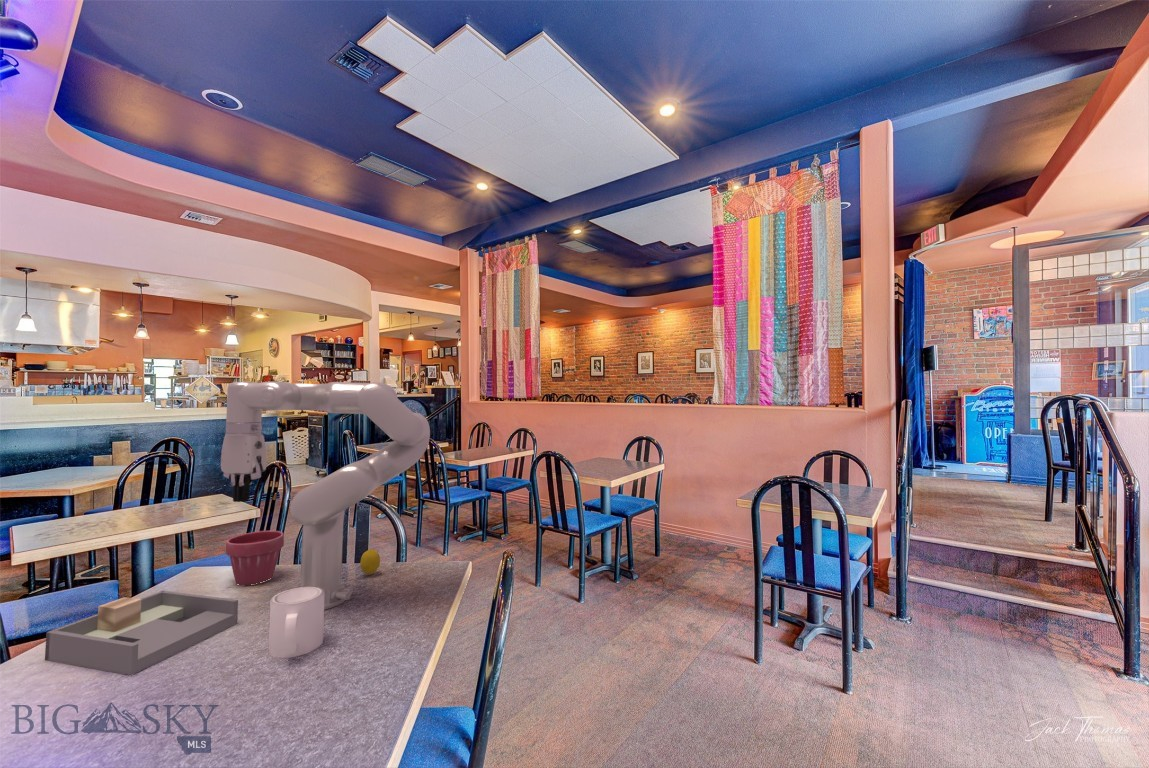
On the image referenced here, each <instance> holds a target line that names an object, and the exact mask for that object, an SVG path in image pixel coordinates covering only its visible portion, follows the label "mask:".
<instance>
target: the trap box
mask: <svg viewBox="0 0 1149 768" xmlns="http://www.w3.org/2000/svg"><path fill="white" fill-rule="evenodd" d="M140 599H141V619H140V622H139V623H136V624H134V625H131V626H129V627H126V628H124V629H121V630H119V631H116V632H110V631H104V630H97V624H98V613H97V614H93V615H91V616H88V617H84V618H82V619H80V620H77V621H74V622H71V623H68V624H66V625H62V626H60V627H57V628H54V629H51V630H49V631H47V632H46V634H45V635H46V636H45V648H44V649H45V651H44V661H48V662H55V663H60V664H66V665H71V666H76V667H82V668H88V669H92V670H99V671H103V672H109V673H115V674H120V673H121V674H120V675H125V674H128V675H127V676H133V675H135V674H138V673H139V672H141V670H142V671H144V670H145V668H146V669H147V668H149V667H152V666H153V665H156V664H157V663H160V662H162V661H164V660H167V659H168V658H169V657H172V656H174V655H176V654H178V653H180V652H182V651H184V650H186V649H188V648H190V647H192V646H195V645H197V644H198V643H202V641H204V640H207V639H208V638H210V637H213V636H215V635H217V634H219V633H221V632H223V631H225V630H227V629H229V628H232V627H234V626H235V625H238V614H239V613H238V612H239V610H238V609H239V600H238V599H234V598H226V597H217V596H210V595H209V596H208V595H202V594H193V593H185V592H179V591H170V590H161V591H158V592H155V593H153V594H149V595H147V596H144V597H141V598H140ZM143 669H144V670H143ZM132 674H133V675H132Z"/></svg>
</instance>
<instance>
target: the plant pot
mask: <svg viewBox="0 0 1149 768" xmlns="http://www.w3.org/2000/svg"><path fill="white" fill-rule="evenodd" d="M225 543H226V544H225V555H226V556H228V557H229V560H230V564H231V569H232V573H233V577H234V581H235V584H236V585H237V584H239V585H251V584H256V583H260V582H263V581H266V580H268V579H270V578H272V577H274V574H275V569H276V567H277V563H278V559H279V555H280V552H281V549H282V548H283V547H284V543H285V537H284V532H282V531H279V530H259V531H252V532H248V533H247V532H246V533H242V534H238V535H234V536H233V537H230V538H228V539H227V540H226V542H225ZM272 579H273V578H272ZM239 585H238V586H239ZM251 586H252V585H251Z"/></svg>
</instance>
